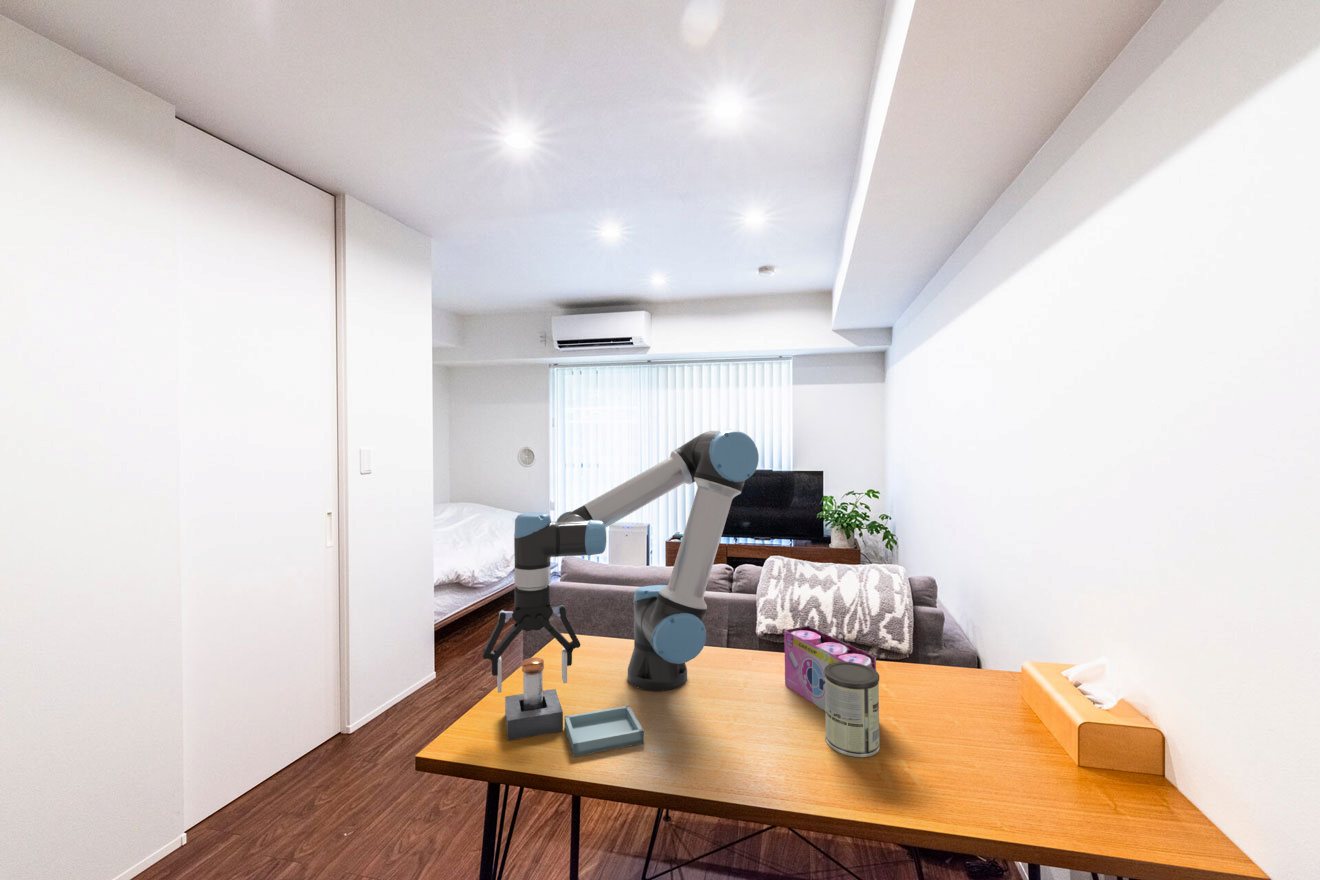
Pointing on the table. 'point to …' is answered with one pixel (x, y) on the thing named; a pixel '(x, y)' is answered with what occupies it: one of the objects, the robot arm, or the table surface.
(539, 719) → the block
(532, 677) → the pin
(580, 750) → the tray
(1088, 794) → the table surface
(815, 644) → the gum box
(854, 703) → the coffee can
